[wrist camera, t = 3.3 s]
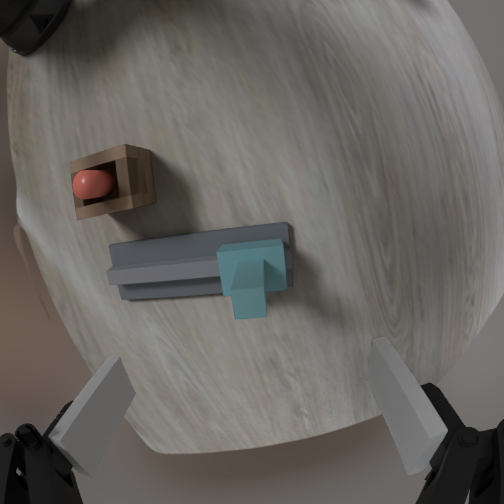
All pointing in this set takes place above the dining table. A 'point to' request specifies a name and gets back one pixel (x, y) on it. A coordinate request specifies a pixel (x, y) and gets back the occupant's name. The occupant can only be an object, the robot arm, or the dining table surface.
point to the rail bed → (188, 251)
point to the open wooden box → (117, 180)
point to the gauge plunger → (93, 184)
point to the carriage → (251, 275)
